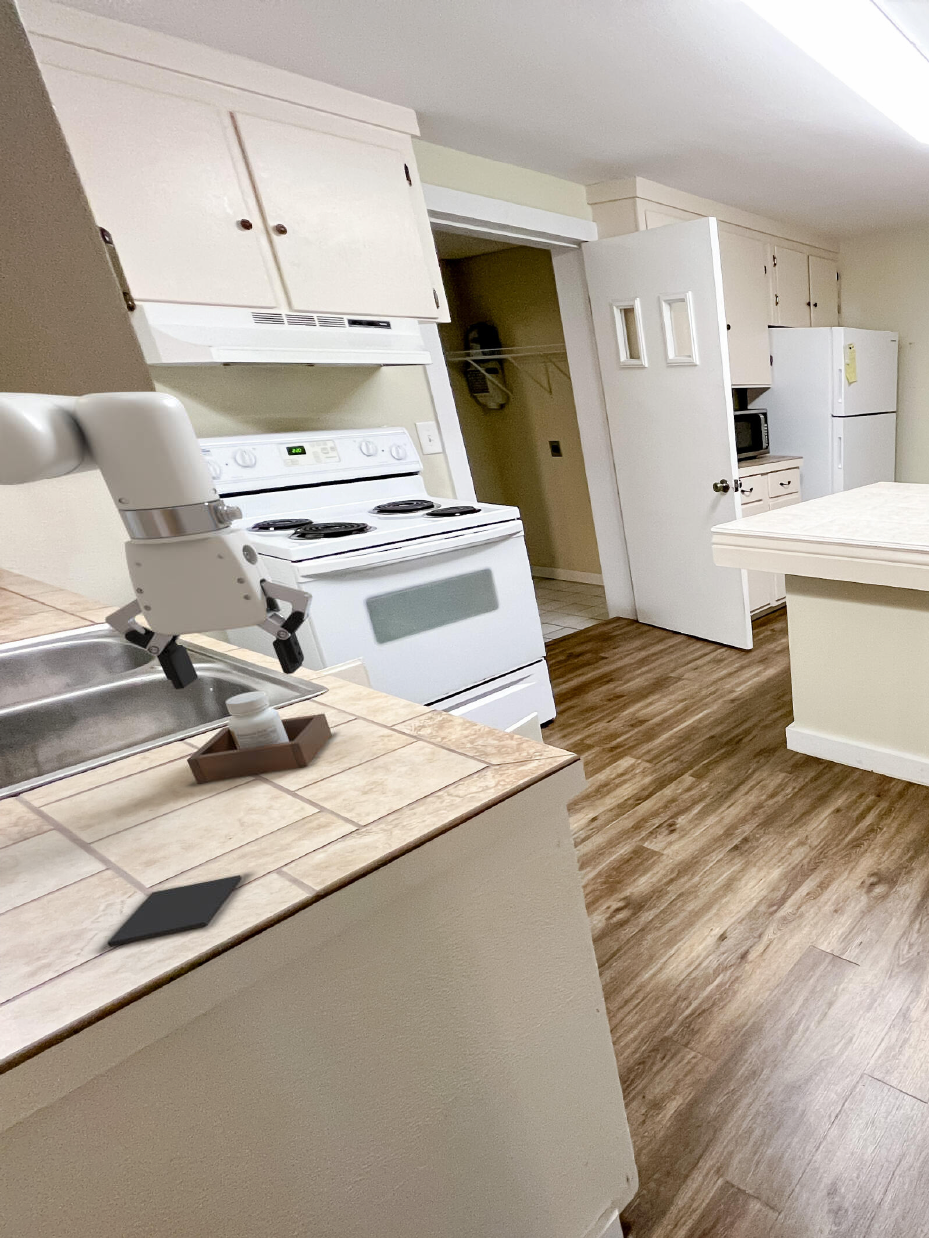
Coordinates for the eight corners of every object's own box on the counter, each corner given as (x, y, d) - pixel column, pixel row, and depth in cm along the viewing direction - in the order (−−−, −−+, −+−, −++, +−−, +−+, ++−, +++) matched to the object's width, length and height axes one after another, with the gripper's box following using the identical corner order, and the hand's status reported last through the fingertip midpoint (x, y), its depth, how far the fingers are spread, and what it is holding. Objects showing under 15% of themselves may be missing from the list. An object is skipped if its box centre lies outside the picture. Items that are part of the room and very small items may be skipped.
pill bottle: (255, 752, 80) (231, 692, 78) (299, 746, 82) (277, 686, 79) (236, 770, 77) (210, 708, 74) (282, 763, 78) (259, 702, 75)
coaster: (109, 946, 52) (106, 942, 52) (154, 895, 58) (152, 892, 57) (206, 926, 54) (204, 922, 54) (241, 878, 59) (240, 874, 59)
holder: (197, 784, 74) (186, 759, 73) (232, 749, 81) (223, 727, 80) (307, 766, 77) (298, 742, 76) (332, 735, 84) (324, 713, 83)
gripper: (295, 509, 75) (344, 653, 82) (92, 524, 70) (162, 677, 76) (265, 520, 69) (321, 676, 75) (39, 538, 63) (121, 704, 70)
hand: (241, 676), depth 76 cm, fingers open, 9 cm apart
